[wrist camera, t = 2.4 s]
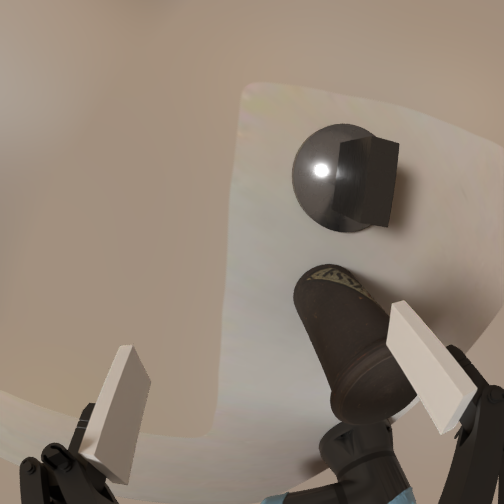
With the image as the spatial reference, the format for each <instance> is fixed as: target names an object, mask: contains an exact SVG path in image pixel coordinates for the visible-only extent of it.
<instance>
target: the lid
mask: <svg viewBox="0 0 504 504" xmlns="http://www.w3.org/2000/svg"><path fill="white" fill-rule="evenodd" d="M398 153H399V143H396V142H392V141H389V140H385V139H382V138H378V137H376V136H374V135H373V134H372V133H370V132H369V131H367V130H365V129H363V128H361V127H358V126H355V125H350V124H335V125H331V126H327V127H325V128H323V129H320V130H318V131H317V132H315V133H313V134H312V135H311V136H310V137H308V138H307V139H306V140H305V142H304V143H303V144H302V145H301V147H300V148H299V150H298V152H297V154H296V157H295V160H294V163H293V169H292V184H293V189H294V192H295V195H296V198H297V200H298V202H299V204H300V206H301V207H302V209H303V210H304V211H305V212H306V214H307V215H308V216H309V217H310V218H312V219H313V220H314V221H316V222H317V223H318V224H320V225H321V226H323V227H325V228H327V229H330V230H333V231H338V232H354V231H358V230H361V229H364V228H366V227H368V226H370V225H376V226H382V227H388V223H389V217H390V212H391V206H392V199H393V193H394V186H395V179H396V171H397V162H398Z"/></svg>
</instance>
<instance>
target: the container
mask: <svg viewBox="0 0 504 504" xmlns="http://www.w3.org/2000/svg"><path fill="white" fill-rule="evenodd" d="M293 299H294V304H295V307H296V310H297V312H298V314H299V316H300V318H301V320H302V322H303V324H304V327H305V329H306V331H307V333H308V335H309V338H310V340H311V342H312V345H313V347H314V349H315V351H316V354H317V356H318V358H319V361H320V363H321V365H322V367H323V370H324V372H325V375H326V377H327V380H328V383H329V385H330V388H331V391H332V392H331V397H330V403H331V409H332V411H333V413H334V415H335V416H336V417H337V418H338V419H339V420H340V421H342V422H344V423H347V424H351V425H367V424H373V423H377V422H380V421H382V420H385V419H387V418H389V417H391V416H393V415H395V414H396V413H398V412H399V411H401V410H402V409H404V408H405V407H406V406H407V405H408V404H409V403H410V402H412V401H413V399H414V398H415V397H416V396H417V393H416V391H415V390H414V388H413V386H412V385H411V383H410V381H409V380H408V378H407V377H406V375H405V373H404V372H403V370H402V369H401V367H400V365H399V364H398V362H397V361H396V359H395V357H394V356H393V354H392V353H391V351H390V350H389V348H388V347H387V345H386V341H387V335H388V328H389V322H390V317H389V316H388V315H387V314H386V313H385V311H384V310H383V309H382V308H381V307H380V306H379V304H378V303H377V302H376V301H375V300H374V299H373V298H372V297H371V295H370V294H369V293H368V292H367V291H366V290H365V289H364V288H363V287H362V285H361V284H360V283H359V282H358V281H357V280H356V279H355V278H354V277H353V276H352V274H351V273H350V272H349V271H347V270H346V269H344V268H343V267H341V266H338V265H332V264H325V265H320V266H317V267H314V268H312V269H310V270H309V271H307V272H306V273H305V274H304V275H303V276H302V277H301V278H300V279H299V281H298V282H297V284H296V286H295V289H294V295H293Z"/></svg>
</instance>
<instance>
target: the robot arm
mask: <svg viewBox="0 0 504 504" xmlns="http://www.w3.org/2000/svg"><path fill="white" fill-rule="evenodd" d="M386 345H387V347H388V348H389V350H390V351H391V353H392V354H393V356H394V357H395V359H396V361H397V362H398V364H399V365H400V367H401V369H402V370H403V372H404V373H405V375H406V377H407V378H408V380H409V381H410V383H411V385H412V386H413V388H414V390H415V391H416V393H417V395H418V396H419V398H420V400H421V401H422V403H423V405H424V407H425V408H426V410H427V412H428V413H429V415H430V417H431V419H432V420H433V422H434V424H435V426H436V427H437V429H438V431H439V433H440V434H444V433H446V432H448V431H450V430H452V429H453V428H455V426H456V425H457V423H458V422H459V421H460V423H461V424H462V426H461V428H460V429H459V431H458V432H457V434H456V435H455V437H454V439H456V438H457V437H458V435H459V437H458V441H457V445H456V450H455V453H454V457H453V461H452V464H451V468H450V471H449V474H448V477H447V480H446V483H445V486H444V489H443V492H442V495H441V497H440V500H439V503H438V504H492V500H493V496H494V492H495V488H496V484H497V480H498V475H499V492H498V504H504V389H502V388H501V387H499V386H496V385H489V384H488V383H487V382H486V380H485V379H484V378H483V376H482V375H481V374H480V373H479V372H478V370H477V369H476V368H475V367H474V365H473V364H471V362H470V360H469V359H468V358H466V356H465V354H464V353H463V352H462V351H461V350H460V349H459V348H457V347H455V346H453V345H449V346H447V347H445V346H444V345H443V344H442V343H441V342H440V340H439V339H438V338H437V337H436V336H435V334H434V333H433V332H432V331H431V330H430V329H429V327H428V326H427V325H426V324H425V323H424V322H423V321H422V319H421V318H420V317H419V316H418V315H417V314H416V313H415V311H414V310H413V309H412V308H411V307H410V306H409V305H408V304H407V303H406V301H405V300H403V301H399V302H395V303H392V307H391V314H390V322H389V328H388V335H387V341H386ZM150 385H151V380H150V378H149V376H148V374H147V373H146V371H145V369H144V367H143V365H142V363H141V361H140V359H139V356H138V355H137V352H136V350H135V348H134V346H133V345H124V346H120V347H119V349H118V352H117V354H116V356H115V358H114V361H113V363H112V365H111V368H110V370H109V372H108V375H107V377H106V380H105V382H104V384H103V387H102V389H101V392H100V394H99V397H98V399H97V402H96V403H89V404H88V405H87V407H86V408H85V409H84V410H83V412H82V414H81V417H80V419H79V420H80V421H79V422H78V424H77V428H76V429H75V432H74V435H73V437H72V440H71V443H70V445H69V448H68V450H67V449H66V448H65V447H64V446H63V445H61V444H59V443H51V444H49V445H47V446H46V447H45V448H44V450H43V451H42V454H41V460H42V462H44V463H41V462H39V461H38V460H37V459H36V458H34V457H28V458H25V459H24V460H23V461H22V463H21V465H20V491H21V502H22V504H119V503H118V502H117V500H116V499H115V497H114V495H113V494H112V492H111V490H110V489H109V487H108V486H107V484H106V483H105V481H106V478H108V479H109V480H110V481H111V482H113V483H118V484H124V485H128V482H129V477H130V472H131V467H132V462H133V457H134V452H135V447H136V443H137V438H138V434H139V430H140V425H141V421H142V416H143V413H144V408H145V404H146V401H147V397H148V393H149V388H150ZM319 450H320V454H321V457H322V459H323V460H324V461H325V462H326V464H327V465H328V466H329V467H330V469H331V470H332V471H333V472H334V473H335V475H336V477H337V480H338V483H334V484H330V485H326V486H322V487H318V488H313V489H308V490H303V491H298V492H292V493H289V492H286V493H285V494H281V495H275V496H270V497H267V498H265V499H264V500H263V501H262V502H261V504H416V500H415V497H414V495H413V492H412V487H411V486H410V484H409V482H408V480H407V478H406V476H405V474H404V472H403V470H402V468H401V466H400V464H399V462H398V460H397V458H396V456H395V453H394V451H393V437H392V428H391V425H390V423H389V421H388V419H385V420H382V421H380V422H377V423H373V424H367V425H351V424H347V423H344V422H342V423H340V424H338V425H336V426H335V427H333V428H332V429H331V430H329V431H328V432H327V433H326V434H325V435H324V436H323V438H322V439H321V441H320V443H319Z"/></svg>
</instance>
